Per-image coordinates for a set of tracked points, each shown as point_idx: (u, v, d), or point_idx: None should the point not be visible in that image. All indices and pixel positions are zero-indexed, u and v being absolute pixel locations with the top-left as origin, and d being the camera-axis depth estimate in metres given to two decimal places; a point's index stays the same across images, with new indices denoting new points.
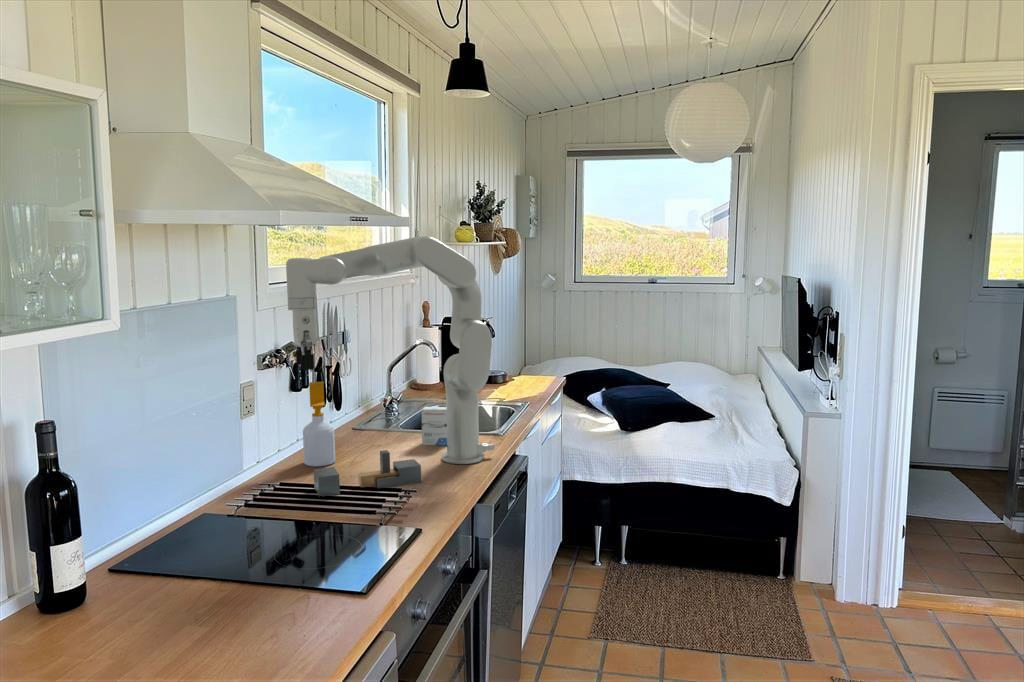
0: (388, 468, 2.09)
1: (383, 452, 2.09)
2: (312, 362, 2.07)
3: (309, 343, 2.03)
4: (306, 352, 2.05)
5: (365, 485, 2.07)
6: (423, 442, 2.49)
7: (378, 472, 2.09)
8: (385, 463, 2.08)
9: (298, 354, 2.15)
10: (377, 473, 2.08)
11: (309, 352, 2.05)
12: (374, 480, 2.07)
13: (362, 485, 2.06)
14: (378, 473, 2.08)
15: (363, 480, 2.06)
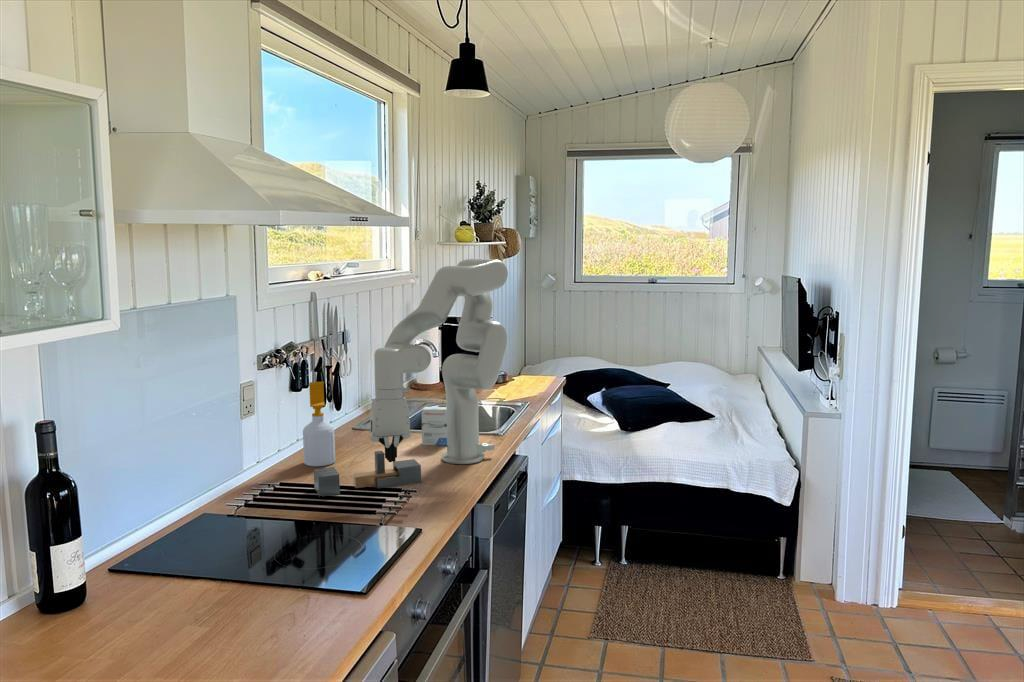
0: (383, 469, 2.08)
1: (378, 453, 2.08)
2: None
3: None
4: None
5: (360, 486, 2.06)
6: (423, 442, 2.49)
7: (373, 473, 2.09)
8: (380, 464, 2.08)
9: None
10: (372, 473, 2.08)
11: None
12: (369, 481, 2.07)
13: (357, 486, 2.06)
14: (373, 474, 2.08)
15: (358, 481, 2.06)
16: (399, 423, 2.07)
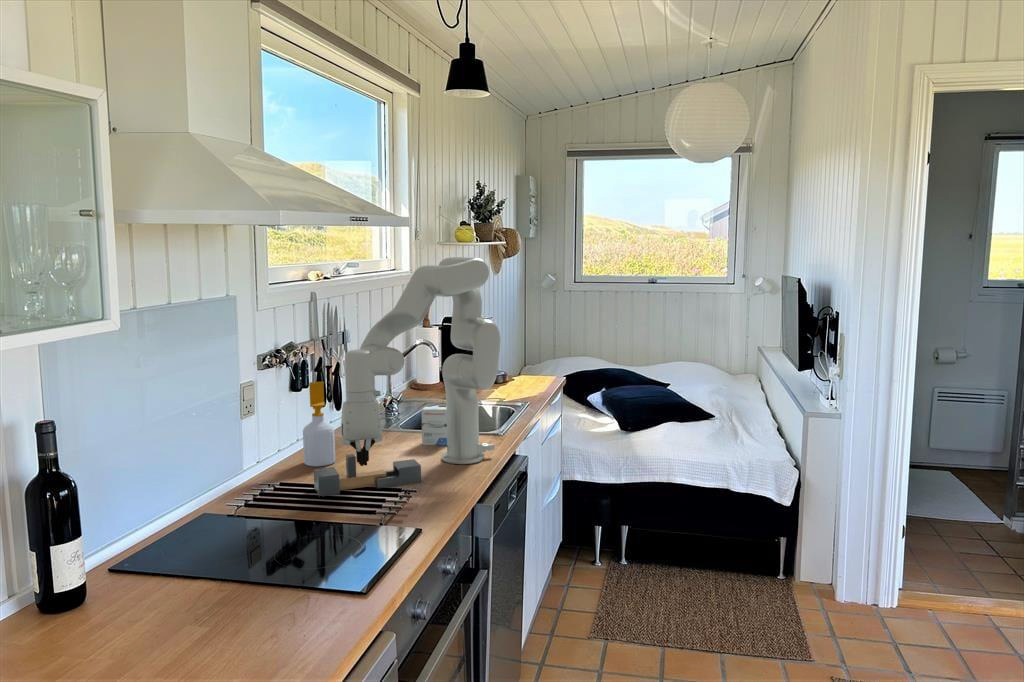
0: (354, 472, 2.05)
1: (349, 456, 2.05)
2: None
3: None
4: None
5: None
6: (423, 442, 2.49)
7: (344, 476, 2.06)
8: (351, 467, 2.05)
9: (362, 454, 2.06)
10: (343, 477, 2.05)
11: None
12: (340, 484, 2.04)
13: None
14: (344, 477, 2.05)
15: None
16: (370, 426, 2.04)
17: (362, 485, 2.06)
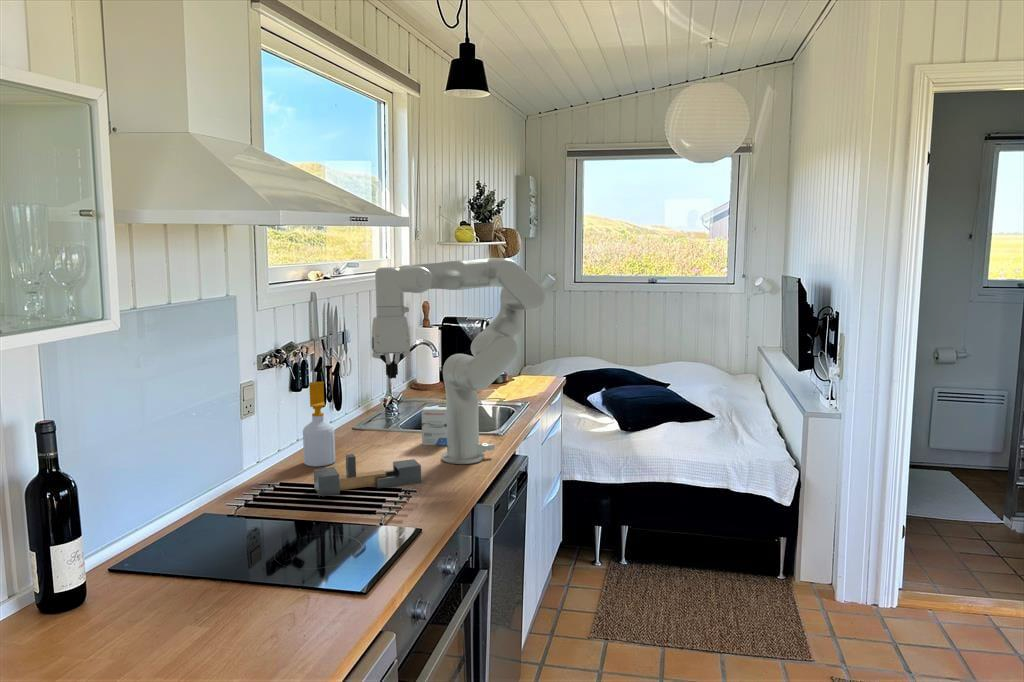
0: (354, 472, 2.05)
1: (349, 456, 2.05)
2: None
3: None
4: None
5: None
6: (423, 442, 2.49)
7: (344, 476, 2.06)
8: (351, 467, 2.05)
9: None
10: (343, 477, 2.05)
11: None
12: None
13: None
14: (344, 477, 2.05)
15: None
16: (399, 340, 2.15)
17: (362, 485, 2.06)
